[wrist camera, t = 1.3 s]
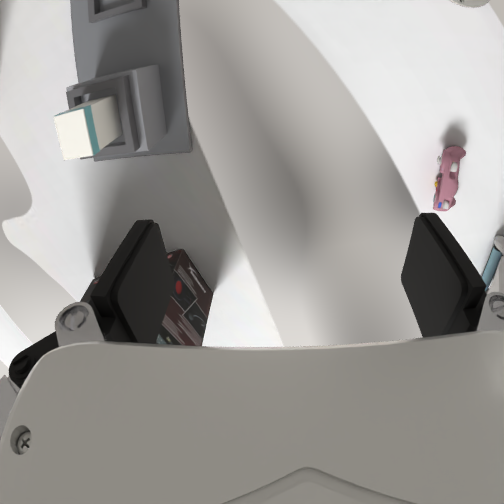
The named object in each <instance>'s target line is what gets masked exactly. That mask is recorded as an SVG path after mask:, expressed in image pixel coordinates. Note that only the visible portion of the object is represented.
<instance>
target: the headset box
mask: <svg viewBox="0 0 504 504" xmlns="http://www.w3.org/2000/svg"><path fill="white" fill-rule="evenodd" d="M167 257H168V260H169V264H170V267H171V271H172V274H173V277H174V290H173V293H172V296H171V298H170V301H169V304H168V307H167V310H166V313H165V316H164V319H163V322H162V325H161V328H160V331H159V334H158V337H157V340H156V344H163V345H182V346H202V342H203V338H204V333H205V329H206V324H207V319H208V315H209V310H210V306H211V302H212V297H213V293H212V291H211V290H210V289H209V287H208V286H207V284H206V283H205V281H204V280H203V278H202V277H201V275H200V274H199V272H198V271H197V269H196V268H195V266H194V265H193V263H192V262H191V260H190V259H189V257H188V256H187V254H186V253H185V251H184V250H183V249H181V250H178V251H174V252H171V253H168V254H167ZM99 279H100V277H99V278H96V279H93V280H92V282H91V284H90V285H89V287H88V289H87V290H86V292H85V294H84V296H83V297H82V299H81V301H80V302H86V303H89V301H90V300H91V297H90V295H91V293H92V291H93V289H94V288H95V286H96V284H97V283H98V281H99Z"/></svg>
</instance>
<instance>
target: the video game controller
mask: <svg viewBox="0 0 504 504" xmlns="http://www.w3.org/2000/svg"><path fill="white" fill-rule="evenodd" d="M465 155H466V151H465V150H464V149H463V148H461V147H458V146H452V147H449V148H447V149H446V150H444V151H443V155H442V156H441V158H439V157H440V156H439V157H438V158H437V163H438V164H439V163H440V173H443V174H442V178H440V177H438V180H437V182H435V186H436V193H435V195H434V200H433V202H434V204H433V209H434V210H437V211H448V210H449V209H450V208H451V207H452V206H454V205H455V203H456V200H455V198H454V195H455V194H456V191H457V189H458V173H459V163H460V159H461V158H463V157H464V156H465Z"/></svg>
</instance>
